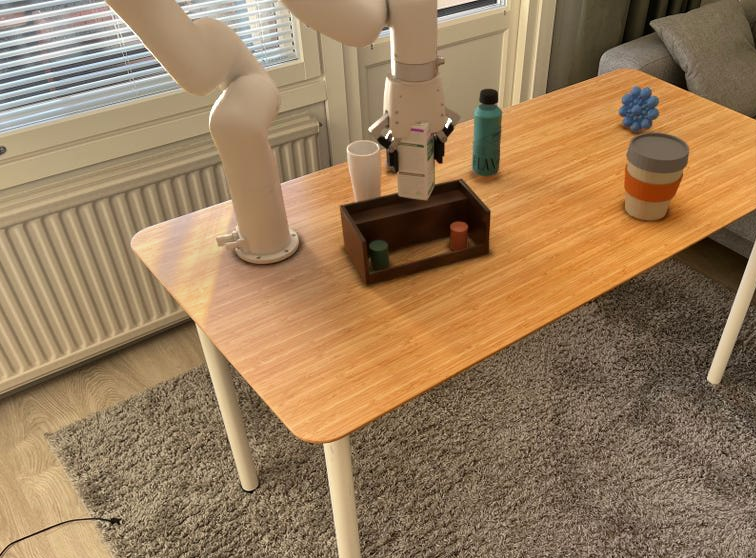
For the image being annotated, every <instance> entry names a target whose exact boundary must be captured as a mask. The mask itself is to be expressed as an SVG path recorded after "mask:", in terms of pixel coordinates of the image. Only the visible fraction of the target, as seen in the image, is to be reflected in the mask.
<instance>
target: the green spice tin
mask: <svg viewBox="0 0 756 558" xmlns="http://www.w3.org/2000/svg"><path fill="white" fill-rule="evenodd" d="M369 251H370V256H369V259H370V268H371V270H372V271H373V272H374V271H378V270H382V269H385V268H389V267H390V255H389V251H388V244H387V243H386V242H385V241H382V240H376V241H373V242H371V243H370V244H369Z"/></svg>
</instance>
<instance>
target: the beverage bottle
mask: <svg viewBox="0 0 756 558" xmlns="http://www.w3.org/2000/svg"><path fill="white" fill-rule="evenodd" d="M478 101H479V103H480V104H479V105H478V106H477V107H475V109H474V110H473V140H472V147H471V148H472V150H471V154H472V159H471V169H472V172H473V174H475V175H477V176H480V177H492V176H495V175H496V174H498V172H499V170H500V167H501V166H500V161H501V141H502V134H503V133H502V117H503V111H502V109H501V108H500V106H498V105H497V104H498V103H499V91H498V90H497V89H493V88H484V89H481V90H480V91H479V97H478Z"/></svg>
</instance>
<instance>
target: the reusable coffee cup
mask: <svg viewBox="0 0 756 558" xmlns="http://www.w3.org/2000/svg"><path fill="white" fill-rule="evenodd" d="M625 156H626V159H627V163H626V164H625V168H624V182H623V183H624V184H623V187H624V190H625V198H624V199H625V201H624V210H625V212H626V213H627V214H628V215H630V216H631V217H633V218H635V219H637V220H642V221H657V220H661V219H662V218H664V217H665V216H666V214H667V212H668V209H669V207H670V204H671V202H672V199H673V198H674V197H676V195H677V192H678V190H679V187H680V186H681V185H680V184H681V182H682V180H683V177H684V170H685V169H686V167H687V166H688V163H689V157H690V147H689V145H688V143H687V142H686V141H685V140H683V139H682V138H680V137H678V136H676V135H672V134H669V133H664V132H663V133H662V132H655V131H654V132H653V131H652V132H642V133H640V134H639V133H638V134H637V135H634V136H633V137H632V138H631V140H630V141H629V145H628V148H627V151H626V155H625Z"/></svg>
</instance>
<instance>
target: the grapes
mask: <svg viewBox="0 0 756 558" xmlns="http://www.w3.org/2000/svg"><path fill="white" fill-rule="evenodd" d="M659 103H660V99H659V97H658V96H657V95H653V91H652V89H651V88H650V87H648V86H646V87H643V88H640V86H634V87H632V88H631V89H630V91H629V93H626V94H624V95H623V96H622V97H621V104H622V105H621V106H620V107H619V109H618V115H619V116H620V117H622V118H623V119H622V126H623V127H624V128H630V129H631V132H633V133H640V132H641V131H642V130H644V131H647V130H650V129H651V128H652V126H653V121H655V120H657V119H658V118H659V116H660V110H659V109H658V108H657V106H659Z"/></svg>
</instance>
